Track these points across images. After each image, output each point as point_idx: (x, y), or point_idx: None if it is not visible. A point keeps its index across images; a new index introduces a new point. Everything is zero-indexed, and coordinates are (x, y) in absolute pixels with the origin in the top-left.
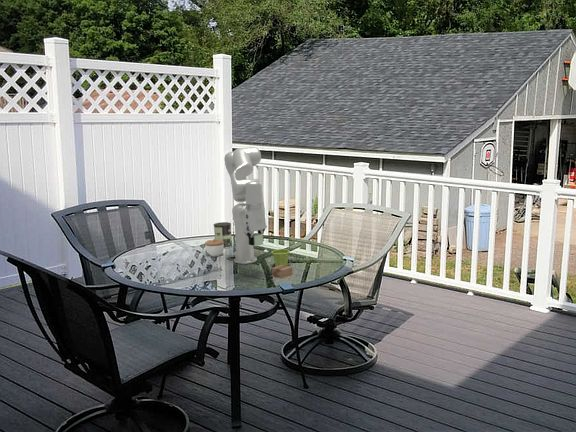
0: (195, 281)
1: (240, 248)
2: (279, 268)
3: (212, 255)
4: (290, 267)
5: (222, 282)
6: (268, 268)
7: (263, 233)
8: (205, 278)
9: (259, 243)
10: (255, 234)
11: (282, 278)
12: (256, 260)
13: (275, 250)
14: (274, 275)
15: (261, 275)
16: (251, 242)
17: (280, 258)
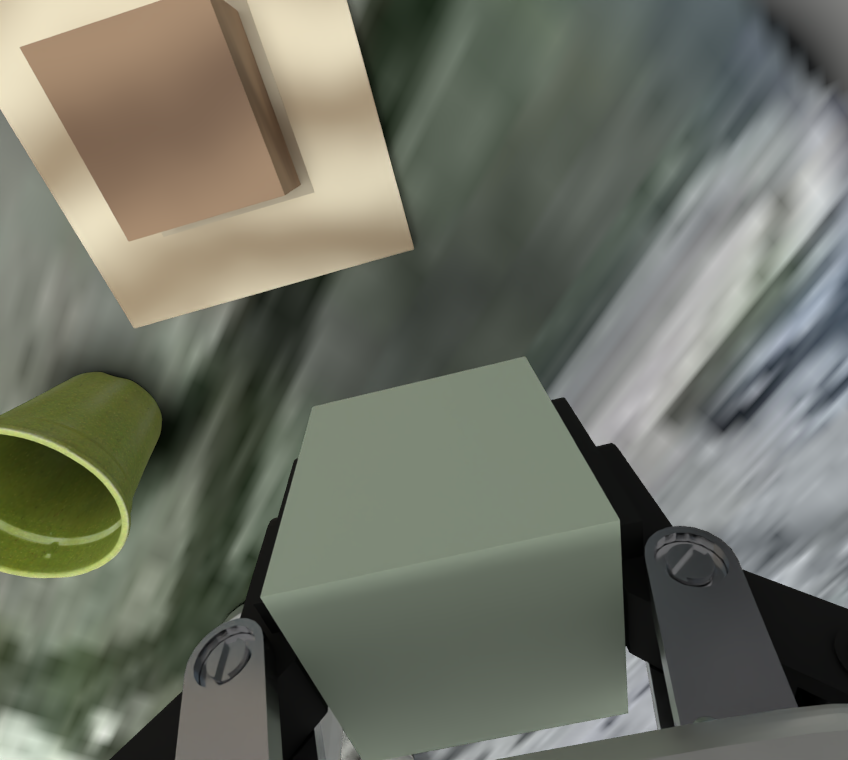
0: (766, 464)
1: (327, 722)
2: (209, 104)
3: (410, 756)
4: (50, 39)
5: (676, 345)
6: (220, 447)
7: (190, 660)
8: (684, 483)
9: (413, 403)
10: (465, 663)
11: (242, 3)
12: (233, 612)
13: (66, 569)
14: (286, 151)
15: (348, 323)
16: (603, 455)
17: (77, 421)
